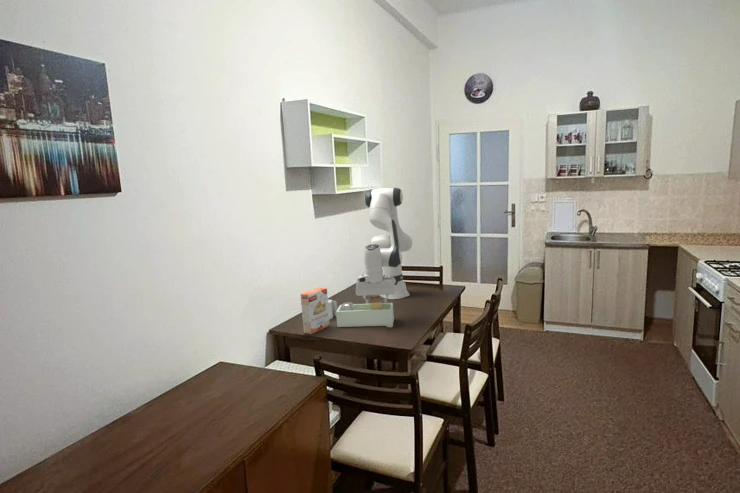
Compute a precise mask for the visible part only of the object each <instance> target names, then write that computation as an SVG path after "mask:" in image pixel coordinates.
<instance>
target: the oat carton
mask: <svg viewBox="0 0 740 493" xmlns="http://www.w3.org/2000/svg"><path fill="white" fill-rule="evenodd" d="M369 301H370V304H371V310H382V303H383V302H382V297H381V296H379V295H370V300H369Z"/></svg>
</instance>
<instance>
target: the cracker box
mask: <svg viewBox="0 0 740 493" xmlns="http://www.w3.org/2000/svg"><path fill="white" fill-rule="evenodd" d="M300 304H301V315H302V317H301V318H302V328H303V335H305V334H308V335H309V334H310V335H313V334H316V333H317V332H320V331H322V330H323V329H326V328H327V327H328V328H329V327H330V320H329V310H328V288H325V287H317V288H314V289H311V290H308V291H305V292H303V293H300Z"/></svg>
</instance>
